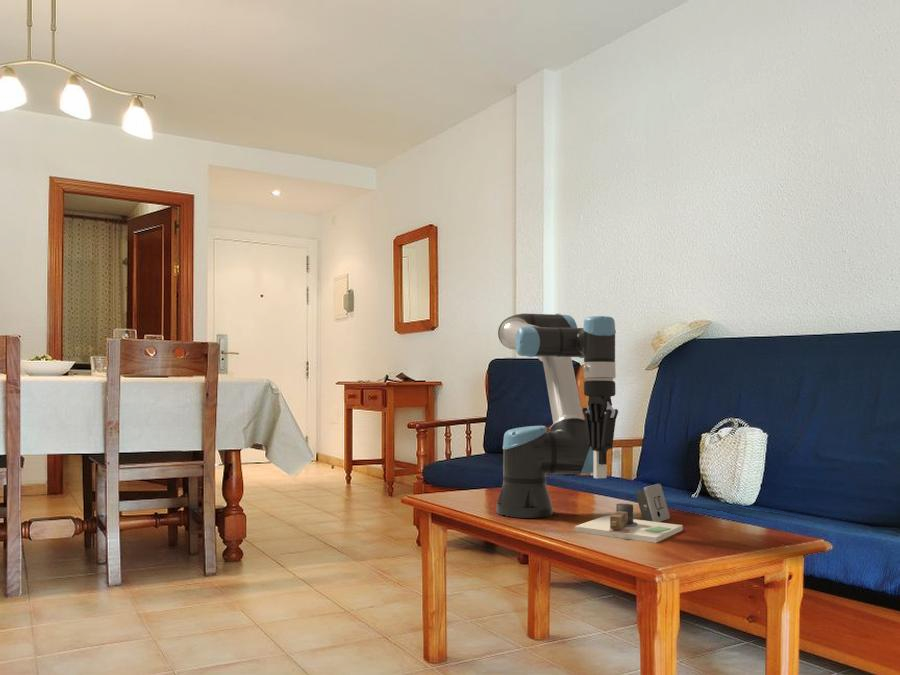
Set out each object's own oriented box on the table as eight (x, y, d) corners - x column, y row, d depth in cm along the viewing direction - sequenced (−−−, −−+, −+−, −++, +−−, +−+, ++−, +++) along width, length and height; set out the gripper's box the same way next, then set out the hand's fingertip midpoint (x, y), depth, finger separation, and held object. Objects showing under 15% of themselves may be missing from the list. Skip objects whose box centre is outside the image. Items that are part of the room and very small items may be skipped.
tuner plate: (573, 531, 176) (573, 525, 176) (606, 520, 191) (606, 514, 191) (655, 543, 165) (655, 536, 165) (682, 530, 179) (682, 524, 179)
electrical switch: (656, 524, 187) (652, 487, 188) (636, 523, 190) (633, 487, 191) (670, 519, 194) (667, 483, 195) (651, 518, 197) (648, 483, 198)
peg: (618, 520, 182) (618, 502, 183) (634, 522, 181) (634, 504, 181) (604, 530, 170) (604, 511, 171) (621, 532, 169) (621, 512, 169)
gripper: (572, 379, 184) (573, 475, 183) (599, 379, 172) (600, 481, 171) (599, 380, 187) (599, 474, 185) (627, 379, 175) (628, 480, 173)
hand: (600, 477), depth 178 cm, fingers closed
